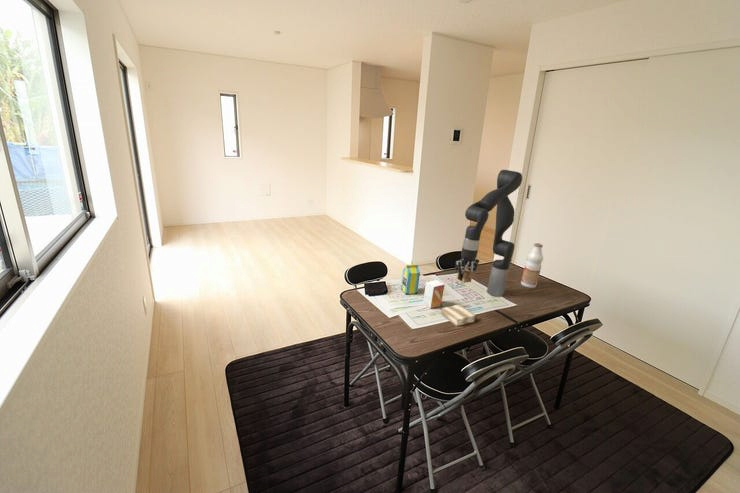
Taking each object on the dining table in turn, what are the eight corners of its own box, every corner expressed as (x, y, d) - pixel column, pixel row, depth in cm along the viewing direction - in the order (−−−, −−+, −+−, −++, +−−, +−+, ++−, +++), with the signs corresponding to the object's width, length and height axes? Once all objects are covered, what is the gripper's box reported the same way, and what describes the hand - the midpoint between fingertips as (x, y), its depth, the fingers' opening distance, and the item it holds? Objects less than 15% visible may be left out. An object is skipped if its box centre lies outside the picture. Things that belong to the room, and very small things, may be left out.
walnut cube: (464, 277, 179) (465, 268, 178) (471, 281, 175) (472, 272, 173) (456, 278, 177) (458, 269, 175) (463, 282, 173) (465, 273, 171)
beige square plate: (458, 310, 187) (459, 304, 185) (474, 322, 177) (475, 315, 176) (440, 315, 181) (441, 308, 180) (456, 326, 171) (457, 319, 170)
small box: (430, 309, 185) (433, 286, 181) (422, 303, 190) (425, 282, 186) (441, 305, 190) (445, 284, 186) (433, 300, 195) (436, 279, 190)
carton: (411, 287, 208) (415, 259, 202) (417, 293, 201) (421, 265, 195) (400, 288, 206) (403, 260, 200) (405, 294, 199) (409, 265, 193)
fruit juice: (526, 288, 221) (537, 246, 211) (517, 282, 229) (527, 241, 220) (539, 288, 223) (550, 246, 214) (529, 281, 231) (540, 241, 222)
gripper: (475, 244, 177) (469, 274, 182) (454, 245, 170) (448, 277, 175) (486, 248, 171) (479, 280, 176) (464, 250, 164) (458, 283, 169)
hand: (464, 279), depth 176 cm, fingers closed on walnut cube, 5 cm apart
